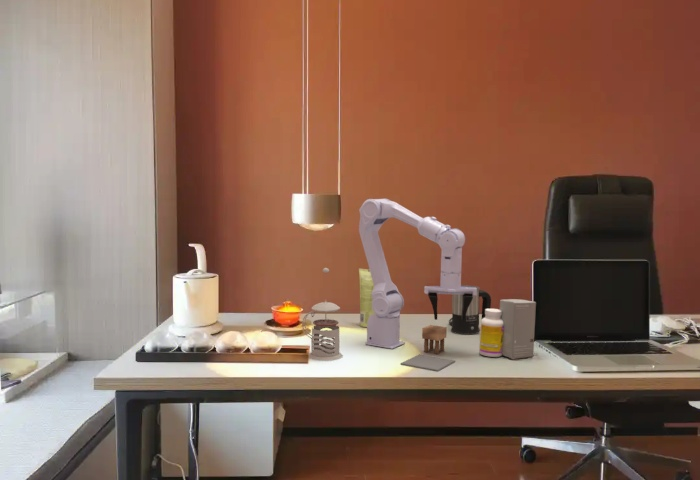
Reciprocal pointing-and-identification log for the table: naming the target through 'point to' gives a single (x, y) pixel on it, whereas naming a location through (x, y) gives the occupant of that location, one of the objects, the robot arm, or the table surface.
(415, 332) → the table surface
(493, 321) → the supplement bottle
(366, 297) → the tube
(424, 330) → the tan box with knobs
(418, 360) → the pad
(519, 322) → the skincare box
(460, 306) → the milk frother
